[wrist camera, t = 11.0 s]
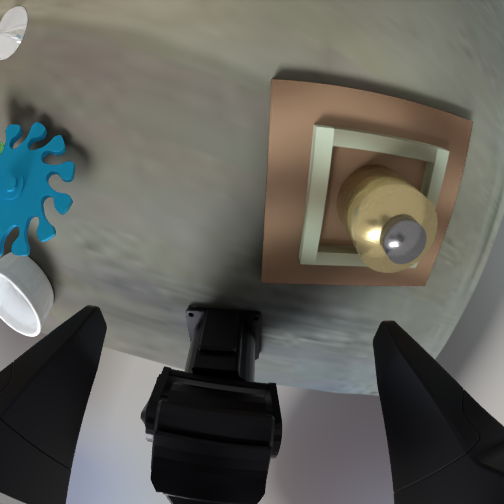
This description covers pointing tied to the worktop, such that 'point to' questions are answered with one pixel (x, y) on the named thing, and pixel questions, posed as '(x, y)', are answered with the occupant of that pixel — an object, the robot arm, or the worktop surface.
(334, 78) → the worktop surface
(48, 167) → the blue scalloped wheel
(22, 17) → the wineglass
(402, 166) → the carrier board
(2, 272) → the ramekin
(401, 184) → the tan two-tone cylinder
